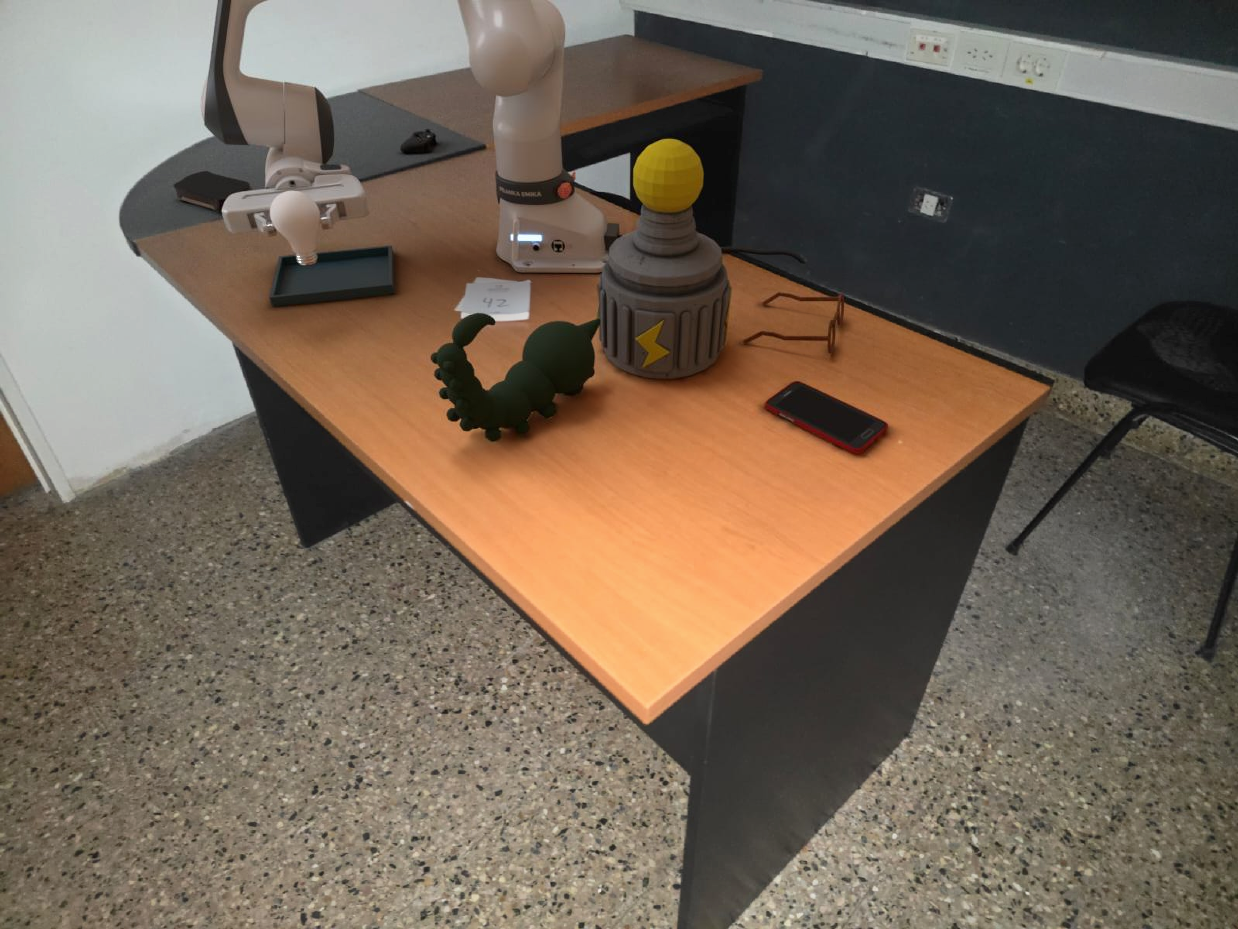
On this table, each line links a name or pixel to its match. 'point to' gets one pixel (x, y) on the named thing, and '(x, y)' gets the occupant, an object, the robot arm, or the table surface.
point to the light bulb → (297, 223)
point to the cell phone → (827, 417)
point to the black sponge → (209, 189)
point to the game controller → (419, 142)
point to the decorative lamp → (664, 275)
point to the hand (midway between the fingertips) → (298, 227)
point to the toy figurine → (515, 375)
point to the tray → (334, 276)
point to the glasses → (807, 338)
